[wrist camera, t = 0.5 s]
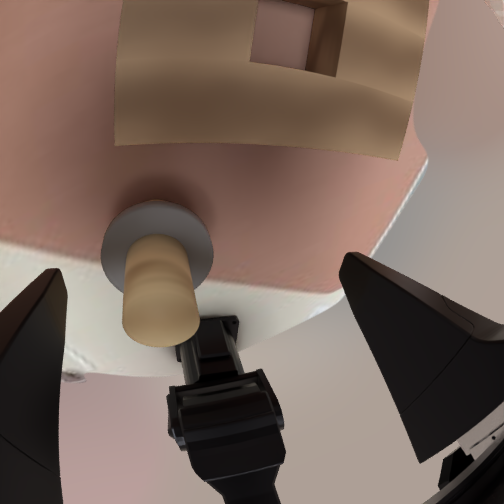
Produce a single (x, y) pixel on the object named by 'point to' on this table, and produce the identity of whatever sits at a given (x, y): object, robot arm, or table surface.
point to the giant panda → (497, 9)
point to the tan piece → (158, 269)
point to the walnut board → (268, 76)
